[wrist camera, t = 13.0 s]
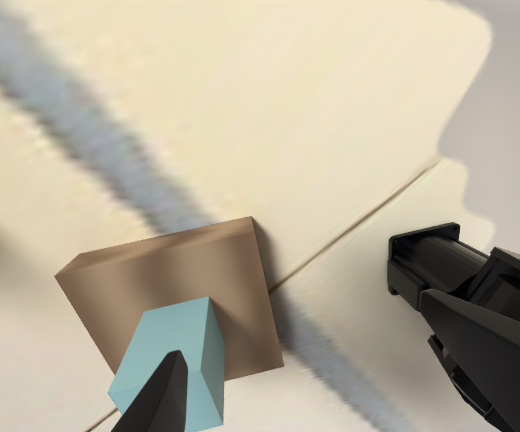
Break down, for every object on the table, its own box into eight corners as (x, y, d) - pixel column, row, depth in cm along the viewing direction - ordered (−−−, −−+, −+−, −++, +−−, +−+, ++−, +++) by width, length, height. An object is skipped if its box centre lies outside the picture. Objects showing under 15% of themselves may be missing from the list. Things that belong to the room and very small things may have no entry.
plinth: (251, 216, 20) (254, 231, 17) (278, 339, 25) (284, 366, 22) (79, 254, 19) (54, 276, 17) (143, 372, 25) (132, 403, 22)
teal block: (209, 296, 19) (200, 369, 13) (224, 342, 21) (223, 424, 15) (144, 311, 18) (107, 392, 13) (166, 357, 20) (142, 445, 15)
